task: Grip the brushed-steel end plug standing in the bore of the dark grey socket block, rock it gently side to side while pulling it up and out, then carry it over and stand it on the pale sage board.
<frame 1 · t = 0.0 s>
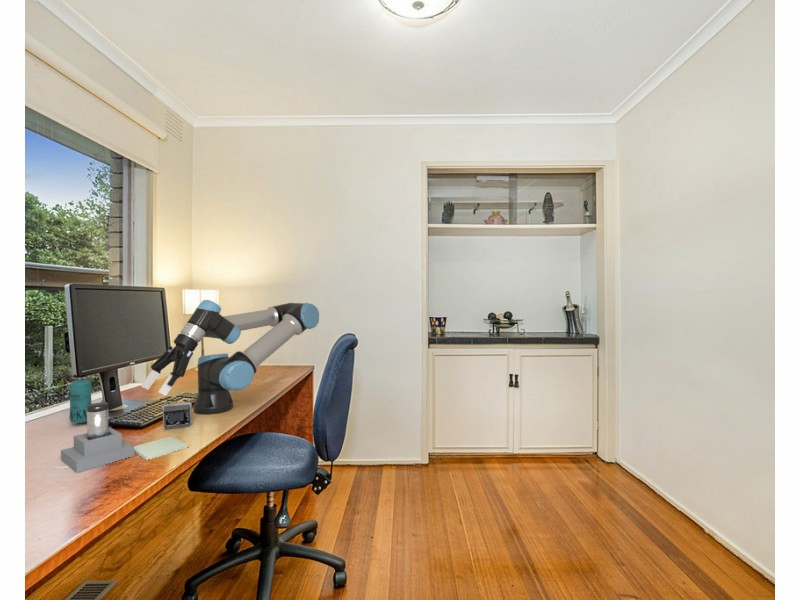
hand: (152, 391, 139), 15 cm above the table, tool tilted 35°, fingers open, 13 cm apart
beverage bottle: (81, 425, 150), on the table
socket block: (98, 458, 120), on the table
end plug: (98, 448, 120), point 3 cm above the table, touching socket block
electrical switch: (178, 428, 147), on the table
sage board: (159, 449, 127), on the table
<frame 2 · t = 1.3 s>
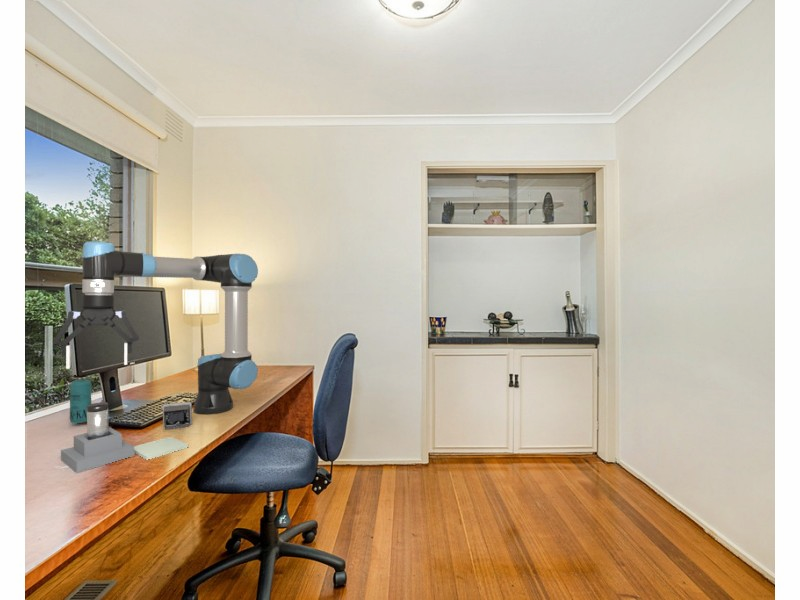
hand: (98, 366, 120), 27 cm above the table, tool pointing down, fingers open, 13 cm apart
nothing on the table moved.
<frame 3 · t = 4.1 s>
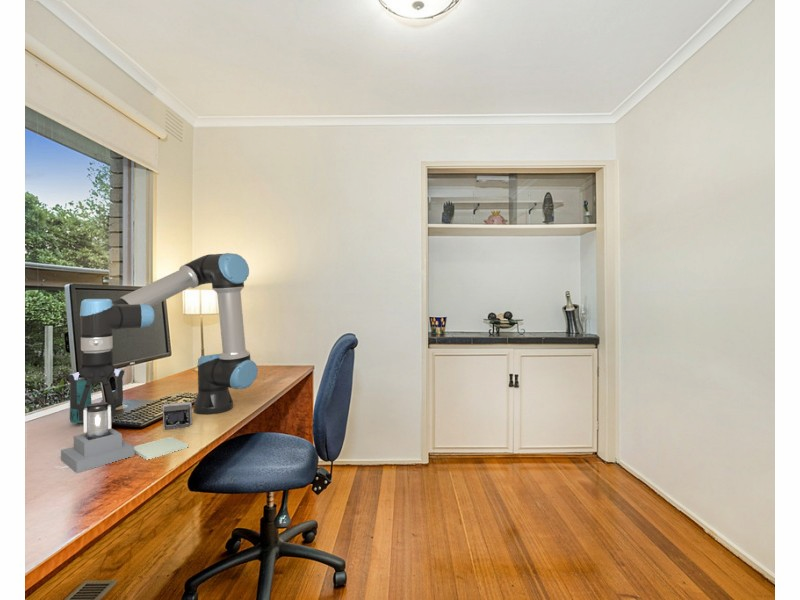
hand: (97, 429, 120), 9 cm above the table, tool pointing down, fingers closed on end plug, 5 cm apart
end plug: (98, 448, 120), point 3 cm above the table, touching gripper, socket block
everything else where it was.
when the fingers open (8 cm above the table, at t = 12.1 s): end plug drops 1 cm, resting on sage board.
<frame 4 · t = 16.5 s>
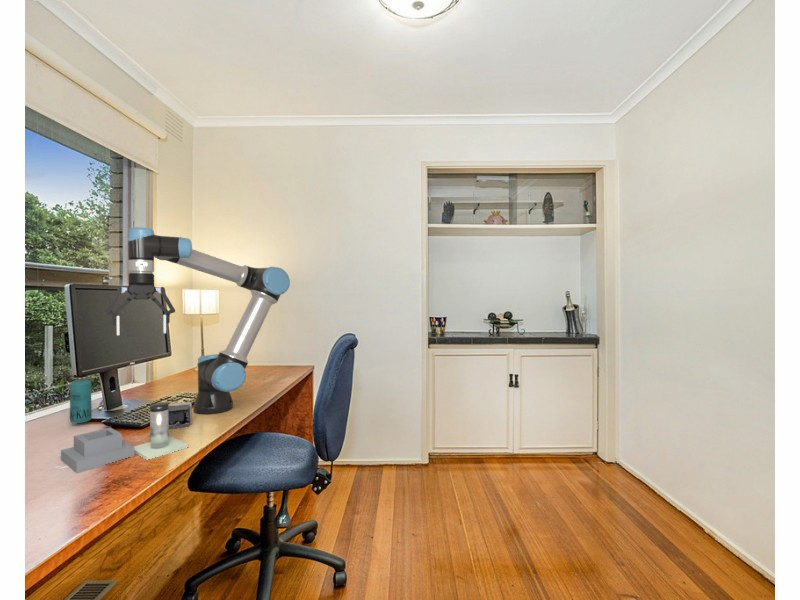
hand: (142, 334, 140), 35 cm above the table, tool pointing down, fingers open, 13 cm apart
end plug: (159, 445, 127), point 1 cm above the table, touching sage board
everything else where it was.
at the end: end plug 0.1 cm off-centre on the sage board, point 1.0 cm above the sage board's base; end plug tilted 0°; the gripper is holding nothing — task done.
